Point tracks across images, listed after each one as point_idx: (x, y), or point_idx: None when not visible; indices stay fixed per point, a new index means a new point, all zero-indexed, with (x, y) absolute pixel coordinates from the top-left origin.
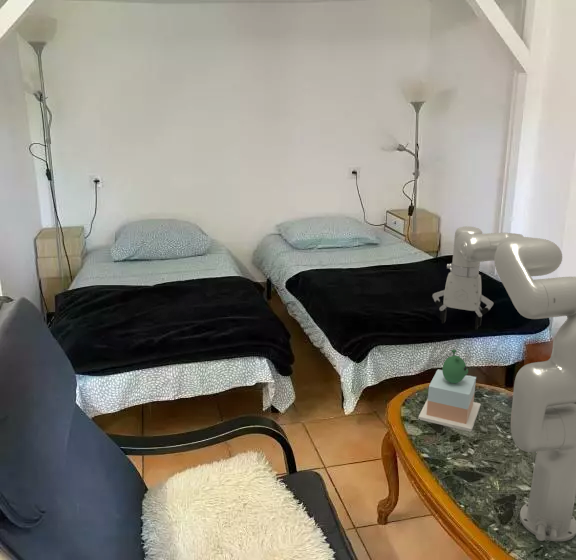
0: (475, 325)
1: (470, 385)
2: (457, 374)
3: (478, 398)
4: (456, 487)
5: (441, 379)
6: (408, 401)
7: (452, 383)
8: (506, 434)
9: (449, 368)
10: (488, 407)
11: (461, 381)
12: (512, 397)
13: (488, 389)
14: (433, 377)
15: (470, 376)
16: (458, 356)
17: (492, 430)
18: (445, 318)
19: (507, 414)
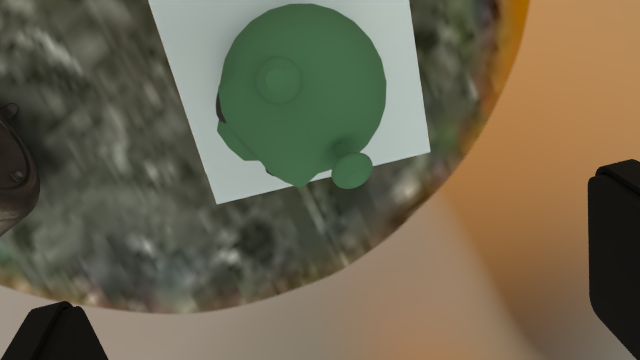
0: (46, 342)
1: (194, 94)
2: (248, 25)
3: (242, 219)
4: None
5: None
6: (479, 6)
7: None
8: (3, 25)
9: (312, 16)
10: (176, 181)
11: None
12: (19, 194)
13: (242, 301)
14: (414, 44)
15: (245, 190)
16: (271, 87)
17: (67, 17)
18: (618, 295)
19: (89, 180)
